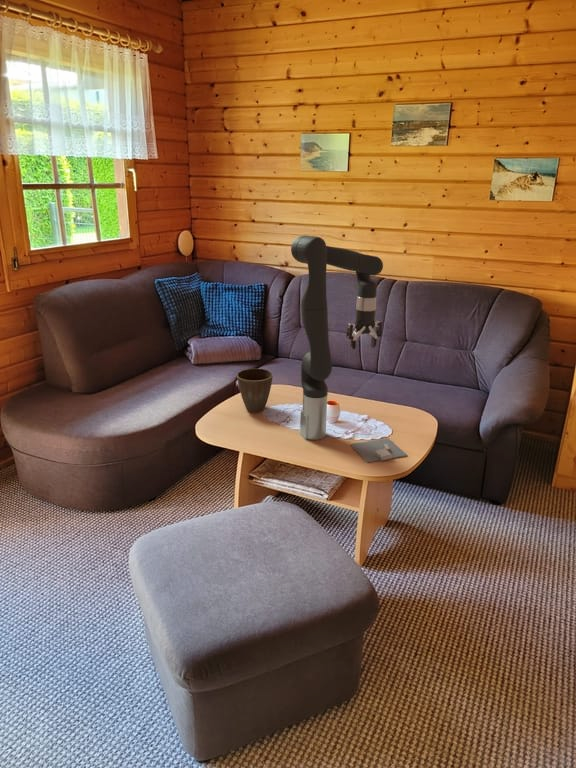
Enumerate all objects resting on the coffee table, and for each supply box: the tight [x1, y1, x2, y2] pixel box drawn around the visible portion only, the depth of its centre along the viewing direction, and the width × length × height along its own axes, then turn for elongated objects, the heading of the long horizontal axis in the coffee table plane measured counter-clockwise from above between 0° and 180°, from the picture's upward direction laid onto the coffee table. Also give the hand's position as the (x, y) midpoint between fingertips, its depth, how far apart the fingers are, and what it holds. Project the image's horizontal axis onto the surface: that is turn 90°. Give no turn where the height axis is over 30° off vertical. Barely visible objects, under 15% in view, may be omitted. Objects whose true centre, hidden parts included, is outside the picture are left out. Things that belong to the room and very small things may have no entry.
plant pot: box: [236, 368, 274, 414], centre depth 234 cm, size 15×15×16 cm
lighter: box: [375, 444, 392, 461], centre depth 200 cm, size 7×2×8 cm
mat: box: [349, 437, 408, 464], centre depth 204 cm, size 16×14×1 cm
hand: (363, 348), depth 220 cm, fingers open, 8 cm apart
